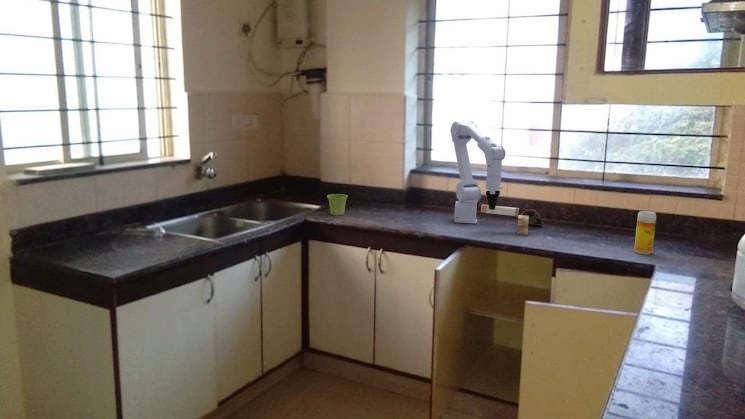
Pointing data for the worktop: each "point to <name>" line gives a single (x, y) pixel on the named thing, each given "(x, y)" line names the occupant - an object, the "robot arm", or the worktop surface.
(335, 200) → the plant pot
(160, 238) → the worktop surface
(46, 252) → the worktop surface
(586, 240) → the worktop surface
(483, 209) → the white bar
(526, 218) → the tan wooden brick
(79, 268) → the worktop surface
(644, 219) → the pill bottle
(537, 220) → the pottery mug
